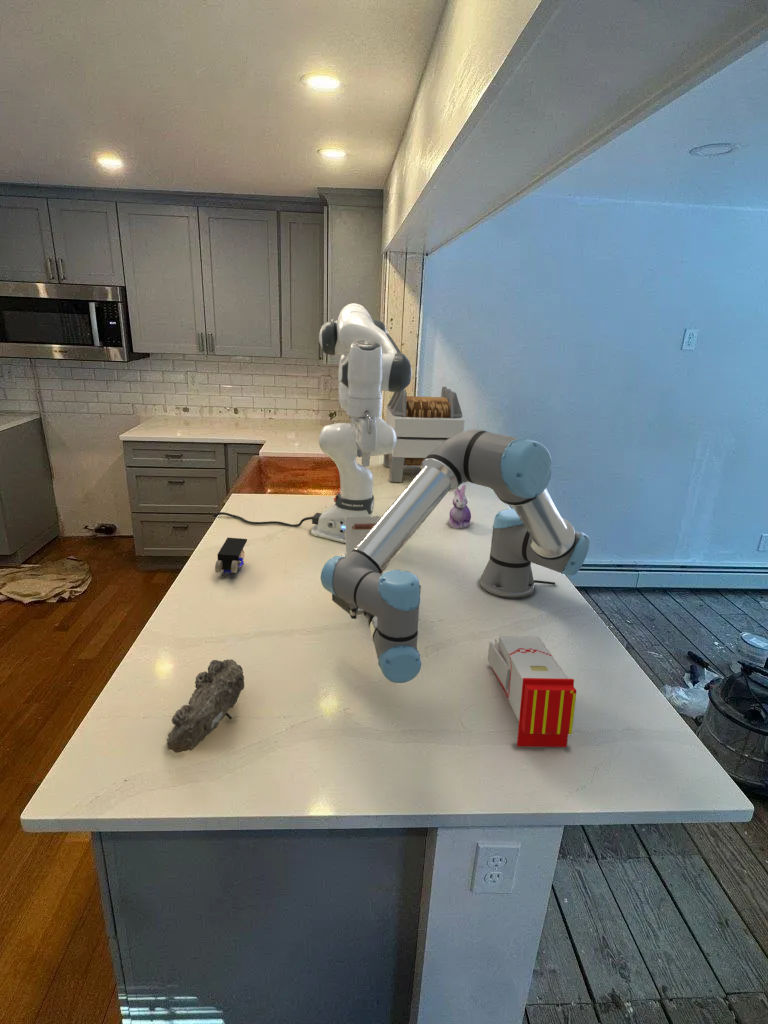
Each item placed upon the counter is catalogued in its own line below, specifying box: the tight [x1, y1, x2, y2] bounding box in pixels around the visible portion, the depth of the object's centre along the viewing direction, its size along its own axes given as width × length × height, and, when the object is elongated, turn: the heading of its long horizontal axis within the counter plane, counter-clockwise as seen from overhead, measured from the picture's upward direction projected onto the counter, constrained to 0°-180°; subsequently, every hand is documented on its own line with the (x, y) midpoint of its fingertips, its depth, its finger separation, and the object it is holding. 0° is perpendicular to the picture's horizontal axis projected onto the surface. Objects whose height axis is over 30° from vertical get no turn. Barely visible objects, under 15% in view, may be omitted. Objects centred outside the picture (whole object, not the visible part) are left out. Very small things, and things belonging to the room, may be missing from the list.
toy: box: [486, 635, 577, 748], centre depth 115 cm, size 12×13×30 cm
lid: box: [345, 515, 382, 557], centre depth 145 cm, size 14×10×8 cm
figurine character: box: [214, 537, 248, 578], centre depth 166 cm, size 7×8×15 cm
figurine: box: [448, 484, 472, 529], centre depth 208 cm, size 9×10×15 cm
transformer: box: [383, 386, 465, 483], centre depth 268 cm, size 34×33×41 cm
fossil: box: [166, 658, 245, 754], centre depth 106 cm, size 22×10×15 cm
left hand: (362, 461), depth 148 cm, fingers open, 8 cm apart
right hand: (371, 576), depth 135 cm, fingers open, 13 cm apart
